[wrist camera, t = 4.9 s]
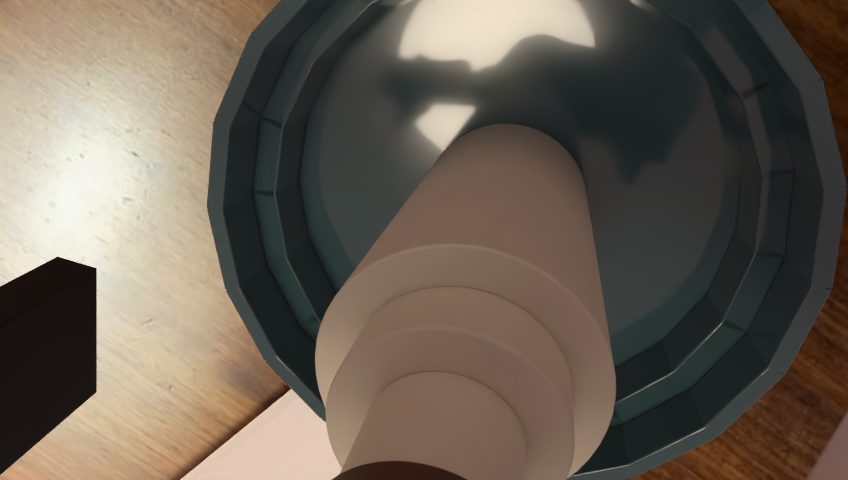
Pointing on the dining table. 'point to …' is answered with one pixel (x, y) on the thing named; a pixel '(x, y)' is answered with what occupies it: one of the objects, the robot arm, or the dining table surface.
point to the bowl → (592, 151)
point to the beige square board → (274, 447)
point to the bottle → (474, 325)
